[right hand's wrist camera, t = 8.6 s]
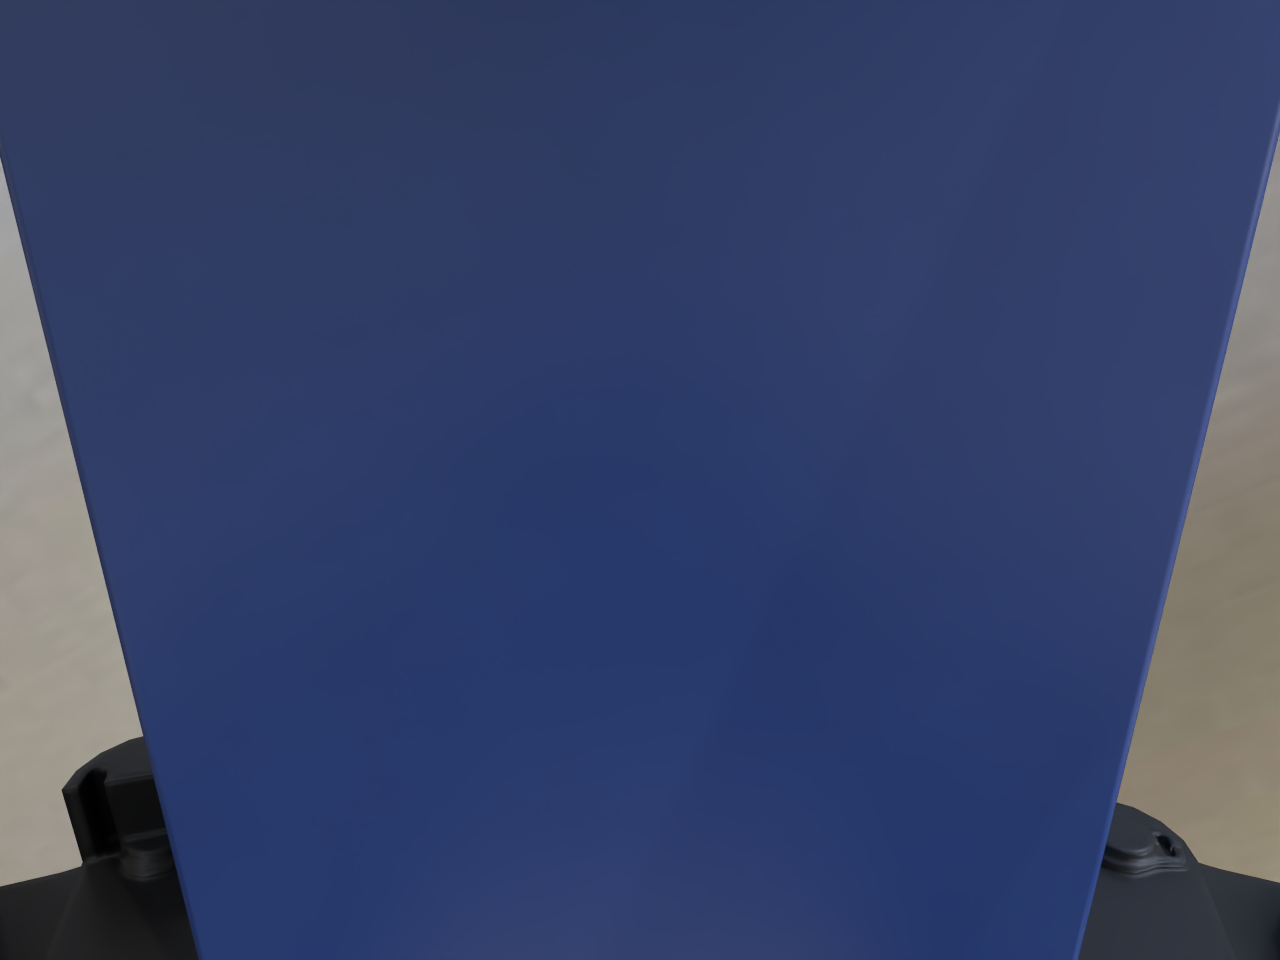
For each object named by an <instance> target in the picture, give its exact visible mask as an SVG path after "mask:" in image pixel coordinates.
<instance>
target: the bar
mask: <svg viewBox="0 0 1280 960" xmlns="http://www.w3.org/2000/svg"><path fill="white" fill-rule="evenodd" d="M1279 132H1280V0H0V158H1V162H2V166H3V170H4V174H5V178H6V182H7V186H8V190H9V194H10V198H11V202H12V206H13V210H14V214H15V218H16V223H17V227H18V231H19V235H20V239H21V243H22V247H23V251H24V255H25V259H26V263H27V267H28V271H29V275H30V279H31V283H32V287H33V291H34V295H35V299H36V303H37V308H38V312H39V316H40V320H41V324H42V328H43V332H44V336H45V340H46V344H47V348H48V352H49V356H50V360H51V364H52V368H53V372H54V376H55V380H56V384H57V388H58V392H59V397H60V401H61V405H62V409H63V413H64V417H65V421H66V425H67V429H68V433H69V437H70V441H71V445H72V449H73V453H74V457H75V461H76V465H77V469H78V473H79V477H80V481H81V486H82V490H83V494H84V498H85V502H86V506H87V510H88V514H89V518H90V522H91V526H92V530H93V534H94V538H95V542H96V546H97V550H98V554H99V558H100V562H101V566H102V570H103V575H104V579H105V583H106V587H107V591H108V595H109V599H110V603H111V607H112V611H113V615H114V619H115V623H116V627H117V631H118V635H119V639H120V643H121V647H122V651H123V655H124V659H125V664H126V668H127V672H128V676H129V680H130V684H131V688H132V692H133V696H134V700H135V704H136V708H137V712H138V716H139V720H140V724H141V728H142V732H143V736H144V740H145V744H146V748H147V753H148V757H149V761H150V765H151V769H152V773H153V777H154V781H155V785H156V789H157V793H158V797H159V801H160V805H161V809H162V813H163V817H164V821H165V825H166V829H167V833H168V838H169V842H170V846H171V850H172V854H173V858H174V862H175V866H176V870H177V874H178V878H179V882H180V886H181V890H182V894H183V898H184V902H185V906H186V910H187V914H188V918H189V922H190V927H191V931H192V935H193V939H194V943H195V947H196V951H197V955H198V959H199V960H1078V957H1079V953H1080V949H1081V945H1082V941H1083V936H1084V932H1085V928H1086V924H1087V920H1088V916H1089V912H1090V908H1091V904H1092V899H1093V895H1094V891H1095V887H1096V883H1097V879H1098V875H1099V871H1100V867H1101V863H1102V858H1103V854H1104V850H1105V846H1106V842H1107V838H1108V834H1109V830H1110V826H1111V822H1112V817H1113V813H1114V809H1115V805H1116V801H1117V797H1118V793H1119V789H1120V785H1121V780H1122V776H1123V772H1124V768H1125V764H1126V760H1127V756H1128V752H1129V748H1130V744H1131V739H1132V735H1133V731H1134V727H1135V723H1136V719H1137V715H1138V711H1139V707H1140V702H1141V698H1142V694H1143V690H1144V686H1145V682H1146V678H1147V674H1148V670H1149V666H1150V661H1151V657H1152V653H1153V649H1154V645H1155V641H1156V637H1157V633H1158V629H1159V624H1160V620H1161V616H1162V612H1163V608H1164V604H1165V600H1166V596H1167V592H1168V588H1169V583H1170V579H1171V575H1172V571H1173V567H1174V563H1175V559H1176V555H1177V551H1178V546H1179V542H1180V538H1181V534H1182V530H1183V526H1184V522H1185V518H1186V514H1187V510H1188V505H1189V501H1190V497H1191V493H1192V489H1193V485H1194V481H1195V477H1196V473H1197V469H1198V464H1199V460H1200V456H1201V452H1202V448H1203V444H1204V440H1205V436H1206V432H1207V427H1208V423H1209V419H1210V415H1211V411H1212V407H1213V403H1214V399H1215V395H1216V391H1217V386H1218V382H1219V378H1220V374H1221V370H1222V366H1223V362H1224V358H1225V354H1226V349H1227V345H1228V341H1229V337H1230V333H1231V329H1232V325H1233V321H1234V317H1235V313H1236V308H1237V304H1238V300H1239V296H1240V292H1241V288H1242V284H1243V280H1244V276H1245V271H1246V267H1247V263H1248V259H1249V255H1250V251H1251V247H1252V243H1253V239H1254V235H1255V230H1256V226H1257V222H1258V218H1259V214H1260V210H1261V206H1262V202H1263V198H1264V193H1265V189H1266V185H1267V181H1268V177H1269V173H1270V169H1271V165H1272V161H1273V157H1274V152H1275V148H1276V144H1277V140H1278V136H1279Z"/></svg>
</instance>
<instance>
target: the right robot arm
mask: <svg viewBox="0 0 1280 960" xmlns="http://www.w3.org/2000/svg"><path fill="white" fill-rule="evenodd" d="M62 793H63V796H64V800H65V803H66V807H67V810H68V813H69V817H70V820H71V824H72V827H73V830H74V834H75V837H76V841H77V844H78V847H79V851H80V854H81V858H82V861H83V863H82V865H81V867H78V868H75V869H71V870H68V871H65V872H61V873H57V874H53V875H49V876H44V877H40V878H36V879H31V880H27V881H23V882H18V883H14V884H10V885H5V886H1V887H0V960H199V959H198V955H197V951H196V947H195V943H194V939H193V935H192V931H191V927H190V922H189V918H188V914H187V910H186V906H185V902H184V898H183V894H182V890H181V886H180V882H179V878H178V874H177V870H176V866H175V862H174V858H173V854H172V850H171V846H170V842H169V838H168V833H167V829H166V825H165V821H164V817H163V813H162V809H161V805H160V801H159V797H158V793H157V789H156V785H155V781H154V777H153V773H152V769H151V765H150V761H149V757H148V753H147V748H146V744H145V740H144V736H143V737H139V738H135V739H131V740H128V741H126V742H124V743H122V744H119V745H117V746H115V747H113V748H111V749H109V750H106V751H104V752H102V753H100V754H99V755H97V756H96V757H95V758H93V759H92V760H90V761H89V762H88V763H86V764H85V765H84V766H82V767H81V768H79V769H78V770H77V771H76V772H75V773H74V775H73V776H72V777H71V778H70V780H69V781H68V782H67V784H66V785H65V786H64V788H63V789H62ZM1078 960H1280V883H1278V882H1273V881H1269V880H1265V879H1260V878H1256V877H1252V876H1247V875H1243V874H1239V873H1234V872H1230V871H1226V870H1221V869H1218V868H1214V867H1211V866H1208V865H1204V864H1201V863H1198V861H1197V860H1196V858H1195V857H1194V855H1193V854H1192V852H1191V851H1190V849H1189V848H1188V846H1187V845H1186V843H1185V842H1184V840H1182V839H1181V838H1180V837H1179V836H1178V835H1176V834H1175V833H1174V832H1173V831H1172V830H1170V829H1169V828H1168V827H1167V826H1166V825H1164V824H1163V823H1162V822H1161V821H1159V820H1157V819H1155V818H1153V817H1151V816H1149V815H1147V814H1145V813H1143V812H1141V811H1139V810H1137V809H1136V808H1134V807H1130V806H1127V805H1123V804H1120V803H1117V802H1116V805H1115V809H1114V813H1113V817H1112V822H1111V826H1110V830H1109V834H1108V838H1107V842H1106V846H1105V850H1104V854H1103V858H1102V863H1101V867H1100V871H1099V875H1098V879H1097V883H1096V887H1095V891H1094V895H1093V899H1092V904H1091V908H1090V912H1089V916H1088V920H1087V924H1086V928H1085V932H1084V936H1083V941H1082V945H1081V949H1080V953H1079V957H1078Z"/></svg>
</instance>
